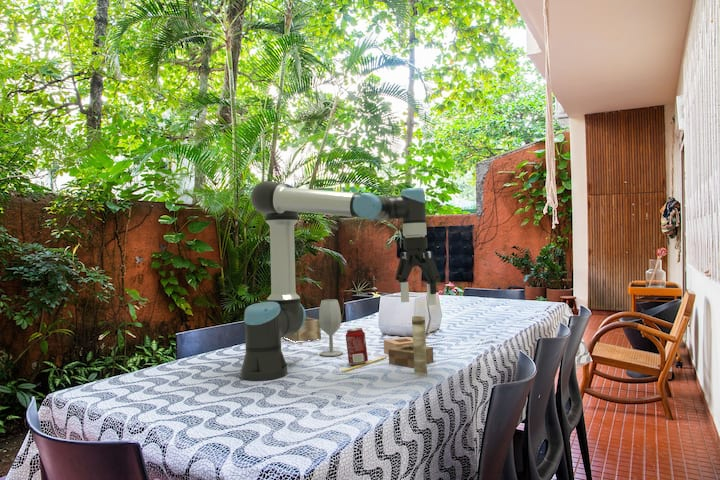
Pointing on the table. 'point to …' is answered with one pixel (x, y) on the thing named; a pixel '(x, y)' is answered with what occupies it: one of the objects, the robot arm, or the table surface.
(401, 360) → the brown holed block
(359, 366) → the thin yellow stick
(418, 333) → the beige banded cylinder
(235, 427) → the table surface
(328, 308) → the wineglass
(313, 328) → the fruit crate
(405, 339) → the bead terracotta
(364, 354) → the soda can
